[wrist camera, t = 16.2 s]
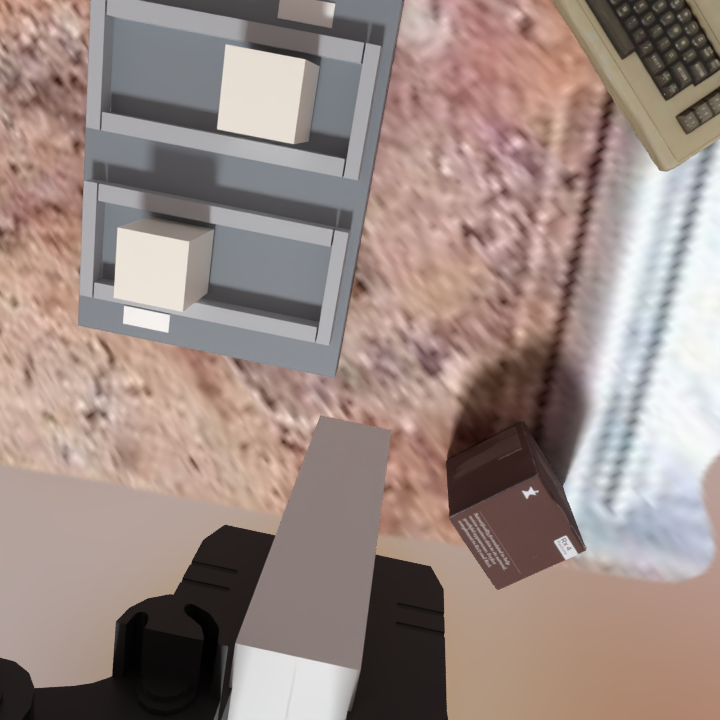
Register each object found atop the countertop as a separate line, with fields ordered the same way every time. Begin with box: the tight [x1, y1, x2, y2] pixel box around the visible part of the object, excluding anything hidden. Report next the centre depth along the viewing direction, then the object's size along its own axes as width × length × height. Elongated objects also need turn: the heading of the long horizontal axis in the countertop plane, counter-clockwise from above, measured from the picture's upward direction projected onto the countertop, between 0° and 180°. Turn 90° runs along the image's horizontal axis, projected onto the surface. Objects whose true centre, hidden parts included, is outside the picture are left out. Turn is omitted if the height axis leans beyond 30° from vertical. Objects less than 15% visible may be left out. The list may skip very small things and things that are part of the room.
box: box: [446, 422, 586, 590], centre depth 43 cm, size 6×6×7 cm
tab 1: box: [114, 216, 214, 312], centre depth 40 cm, size 4×4×4 cm
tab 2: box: [217, 44, 320, 144], centre depth 36 cm, size 4×4×4 cm
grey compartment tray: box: [78, 0, 403, 378], centre depth 40 cm, size 22×17×3 cm
